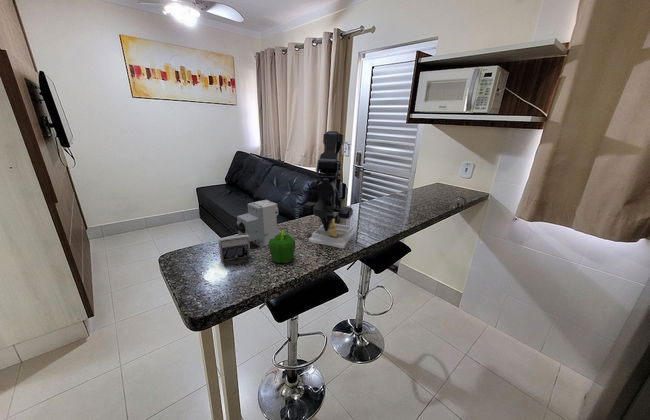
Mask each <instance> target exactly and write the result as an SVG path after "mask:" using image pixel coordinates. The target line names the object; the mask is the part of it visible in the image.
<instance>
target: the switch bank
mask: <svg viewBox="0 0 650 420" xmlns="http://www.w3.org/2000/svg"><path fill="white" fill-rule="evenodd" d="M335 225H336V233H338V234H337V237H336V236H328V234H329V233H330V228H331V227H329V229H328V231H325V229H324V226H323V223H321V225H320V226H319V227H318V228H316V230H314V231H313V232H312V233H311V237H309V238H308V242H309V243H310V242H311V243H314V244H319V245H324V246H328V247H329V246H330V247H335V248H338V249H339V248H340V249H345V247H346V246H347V244H348V243H349V242H348V241H350V240H351V239H352V237H353V236H354V235H355V233H356V230H355V229H354V226H351V225H346V224H341V223H335ZM354 232H355V233H354ZM353 234H354V235H353ZM352 235H353V236H352ZM350 238H351V239H350Z"/></svg>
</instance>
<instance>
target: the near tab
mask: <svg viewBox="0 0 650 420" xmlns="http://www.w3.org/2000/svg"><path fill="white" fill-rule="evenodd" d="M337 234H338V233H336V227H334V226H332V227H331V228H330V233H329V234H328V236H336V237H337Z"/></svg>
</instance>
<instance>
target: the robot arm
mask: <svg viewBox="0 0 650 420" xmlns="http://www.w3.org/2000/svg"><path fill="white" fill-rule="evenodd" d="M322 138H323V141H322V142H323V145H324V151H323V153H320V155H319V159H318V160H317V164H316V170H315V171H316V174H315V179H319V183H318V184H317V187H316V195H317V196H318V199H317V201H316V202H313V201H307V202H306V203H304V204H303V205H302V206H301V212H302V213H306V214H309V213H311V211H313V215H314V216H315V217H318V218H319V219H320V221H321V224H323V226H324V229H325V231H328V229H329V227H330V224H331V222H332V220H333V219H335V224H337V223H338V222H339V220H340V219H344V220H345V219H346V220H348V219H350V218H351V217H352V216H353V213H354V209H353V208H352V207H350V206H343V203H342V202H343V201H342V200H341V197H340V194H339V191H338V189H337V180H338V179H339V176H341V166H342V165H341V164H342V163H341V162H340V160H338V158H339V157H338V156H339V154H340V152H341V150H342V146H343V144H344V134H341V133H340V132H339V131H337V130H336V131H331V130H329V131H326V133H323V136H322Z"/></svg>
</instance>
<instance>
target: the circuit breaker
mask: <svg viewBox="0 0 650 420" xmlns="http://www.w3.org/2000/svg"><path fill="white" fill-rule="evenodd" d="M278 215H279V207H278V203H275V202H273V201H270V200H268V199H264V200H258V201H254V202H249V203H247V213H244V214H240V215H237V216H236V219H237V221H236V225H237V226H235V230H237V231H238V236H241V235H249V237H250V240H249V242H250V243H251V242H252V243H253V244H255V245H257V246H258V247H260V248H264V247H266V246H269V241H270V239H272V238H275V236H277V235H278V234H280V230H279V229H278V224H277V223H278V222H277V221H278V219H277V217H278Z"/></svg>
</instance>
